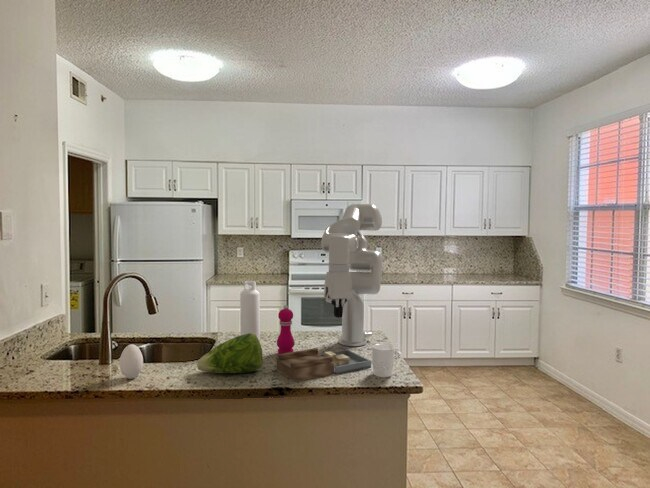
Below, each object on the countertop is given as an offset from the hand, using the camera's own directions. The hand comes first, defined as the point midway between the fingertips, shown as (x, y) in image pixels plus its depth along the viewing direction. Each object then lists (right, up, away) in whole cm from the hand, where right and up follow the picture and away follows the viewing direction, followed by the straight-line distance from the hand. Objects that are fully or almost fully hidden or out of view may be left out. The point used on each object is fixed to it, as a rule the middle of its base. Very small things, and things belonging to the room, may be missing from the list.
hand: (338, 316), depth 170 cm
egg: (-71, -19, -15) cm, 75 cm away
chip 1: (-4, -16, -2) cm, 16 cm away
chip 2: (+1, -15, +1) cm, 15 cm away
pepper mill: (-21, -18, +14) cm, 31 cm away
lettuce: (-39, -19, -8) cm, 44 cm away
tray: (+1, -18, +2) cm, 19 cm away
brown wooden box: (-12, -19, -6) cm, 23 cm away
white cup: (+16, -20, -8) cm, 26 cm away
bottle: (-37, -17, +23) cm, 47 cm away
